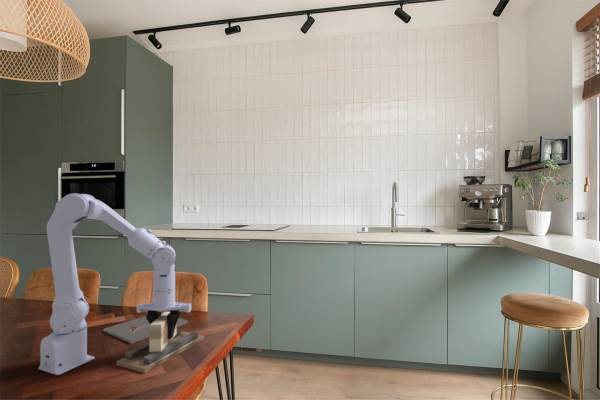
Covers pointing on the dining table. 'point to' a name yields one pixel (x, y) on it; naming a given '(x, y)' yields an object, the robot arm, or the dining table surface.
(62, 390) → the dining table surface
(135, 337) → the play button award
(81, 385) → the dining table surface
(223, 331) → the dining table surface
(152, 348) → the cream rectangular block
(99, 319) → the dining table surface
